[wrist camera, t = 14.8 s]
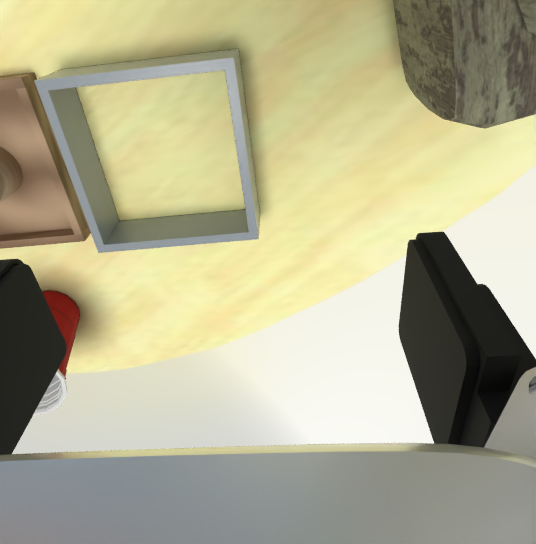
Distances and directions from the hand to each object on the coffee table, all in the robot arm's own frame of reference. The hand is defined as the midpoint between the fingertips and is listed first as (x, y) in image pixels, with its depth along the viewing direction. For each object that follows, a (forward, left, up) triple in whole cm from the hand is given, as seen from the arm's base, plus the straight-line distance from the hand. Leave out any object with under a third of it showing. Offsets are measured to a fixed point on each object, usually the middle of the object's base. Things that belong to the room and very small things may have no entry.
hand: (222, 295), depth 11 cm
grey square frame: (+6, -9, -32) cm, 34 cm away
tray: (+6, -26, -32) cm, 42 cm away
